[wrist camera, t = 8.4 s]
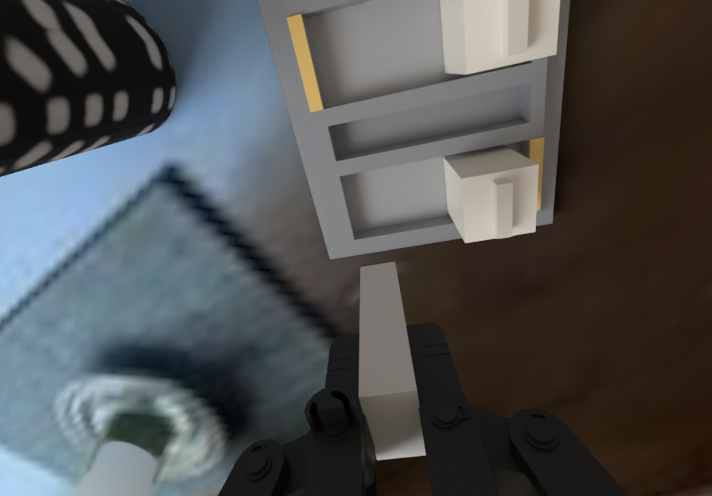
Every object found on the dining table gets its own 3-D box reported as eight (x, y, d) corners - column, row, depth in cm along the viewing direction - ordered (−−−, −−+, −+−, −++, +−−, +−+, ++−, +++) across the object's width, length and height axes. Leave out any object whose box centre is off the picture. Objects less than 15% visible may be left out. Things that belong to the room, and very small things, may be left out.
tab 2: (447, 211, 24) (468, 249, 19) (443, 157, 22) (465, 183, 17) (504, 201, 24) (541, 238, 19) (504, 144, 22) (546, 168, 17)
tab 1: (445, 73, 20) (470, 75, 15) (439, -9, 18) (466, -38, 13) (514, 57, 19) (565, 54, 14) (515, -28, 18) (575, -67, 12)
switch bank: (331, 252, 28) (327, 270, 25) (259, -12, 19) (242, -23, 17) (544, 216, 26) (564, 233, 23) (565, -97, 17) (599, -125, 15)
